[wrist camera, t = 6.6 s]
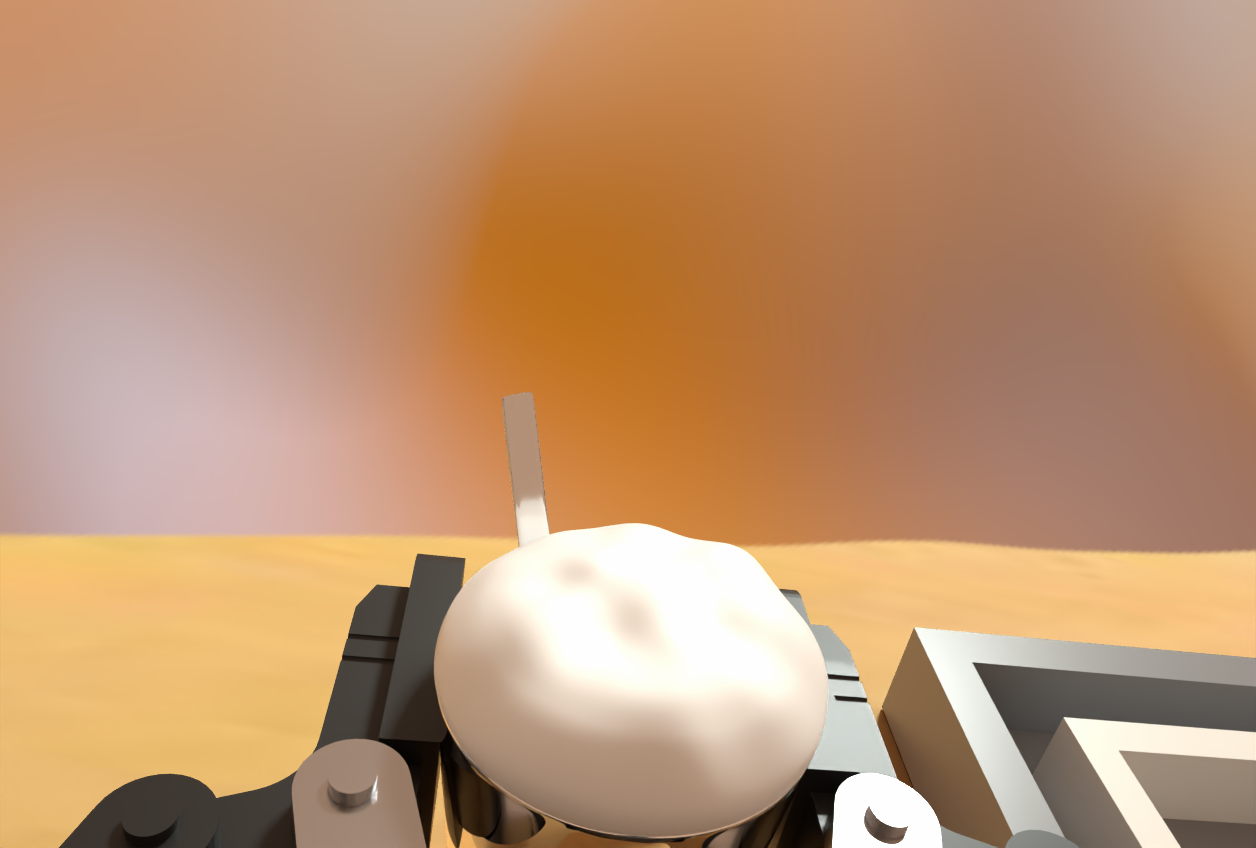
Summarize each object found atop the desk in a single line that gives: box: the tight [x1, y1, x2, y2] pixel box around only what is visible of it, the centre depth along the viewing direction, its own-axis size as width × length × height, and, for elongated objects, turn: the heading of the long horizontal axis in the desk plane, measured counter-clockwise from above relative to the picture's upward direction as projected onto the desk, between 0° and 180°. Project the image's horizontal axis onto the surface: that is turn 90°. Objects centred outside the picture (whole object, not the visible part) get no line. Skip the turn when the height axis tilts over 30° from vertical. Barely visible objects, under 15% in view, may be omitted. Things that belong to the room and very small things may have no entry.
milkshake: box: [434, 392, 828, 848], centre depth 13 cm, size 4×5×10 cm
